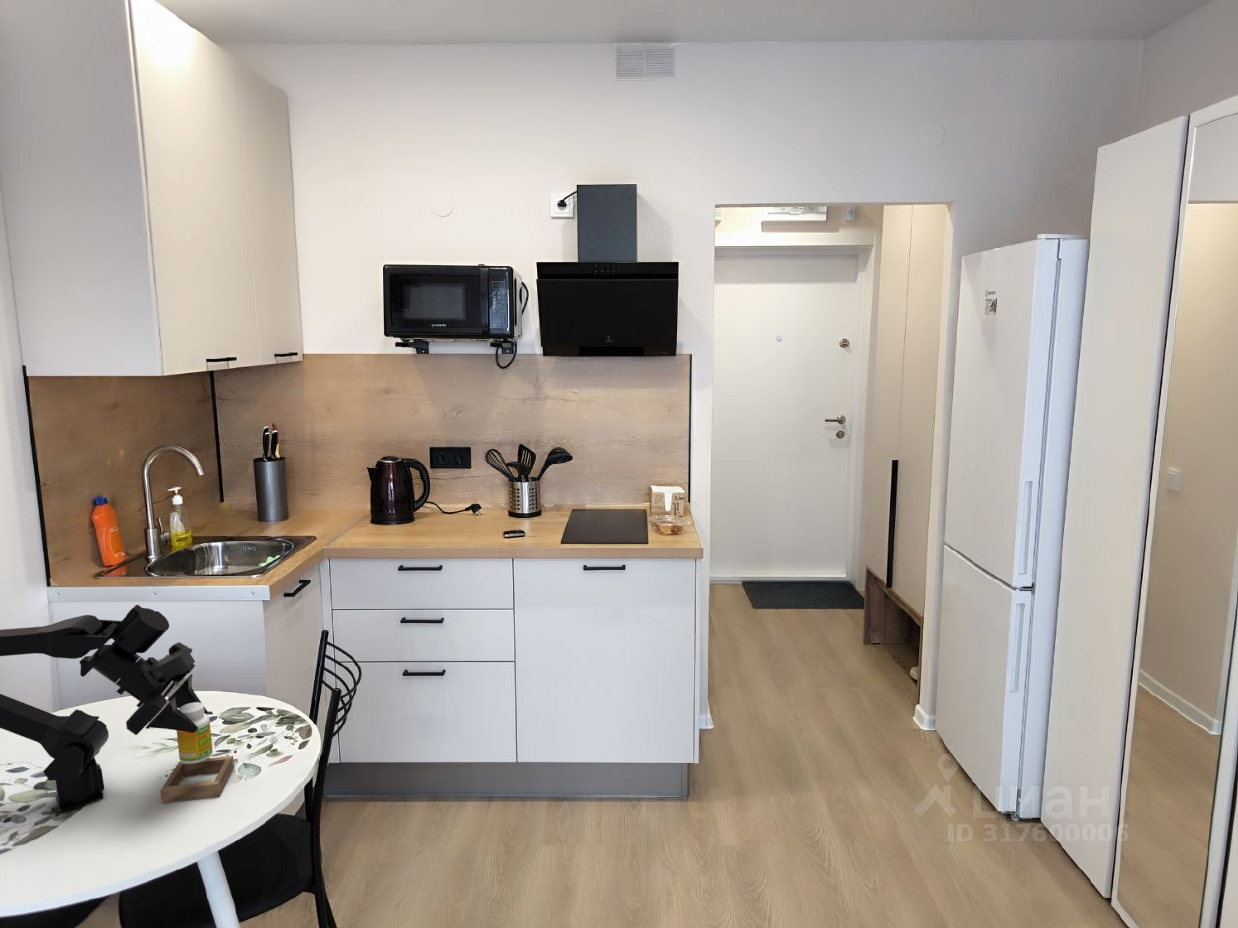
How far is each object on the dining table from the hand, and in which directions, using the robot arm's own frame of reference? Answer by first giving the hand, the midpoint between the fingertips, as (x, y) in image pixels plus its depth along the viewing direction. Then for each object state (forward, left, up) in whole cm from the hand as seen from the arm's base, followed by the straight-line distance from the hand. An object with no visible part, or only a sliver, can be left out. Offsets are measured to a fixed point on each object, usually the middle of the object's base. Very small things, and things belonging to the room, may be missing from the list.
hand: (201, 722), depth 146 cm
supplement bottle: (-1, +1, -7) cm, 7 cm away
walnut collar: (-1, +1, -12) cm, 12 cm away
